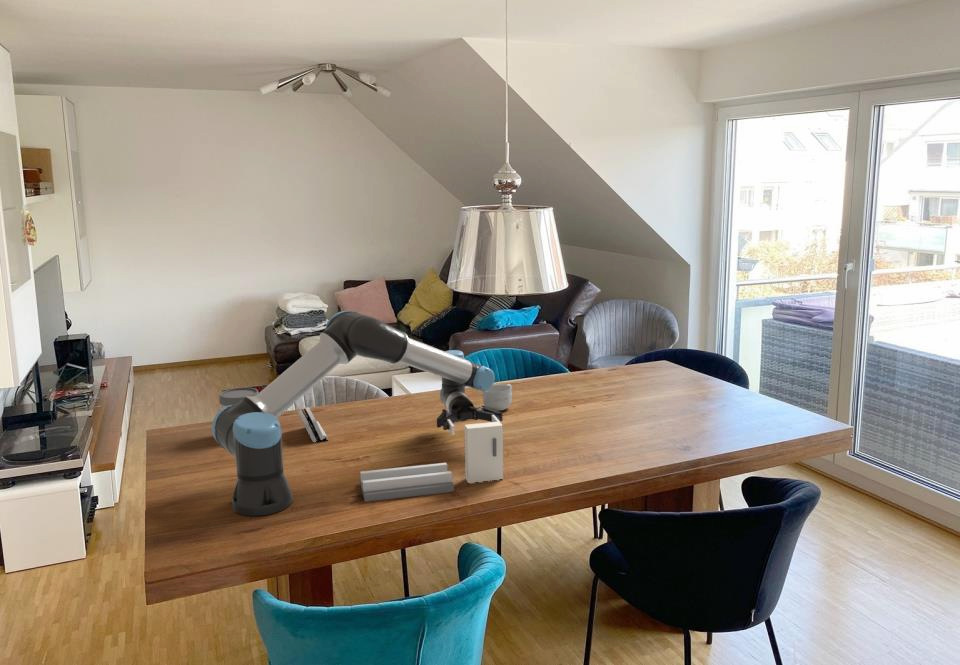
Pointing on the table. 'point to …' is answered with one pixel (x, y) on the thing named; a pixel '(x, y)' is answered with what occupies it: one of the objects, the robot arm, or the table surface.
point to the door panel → (483, 452)
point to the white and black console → (314, 424)
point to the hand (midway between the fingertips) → (476, 428)
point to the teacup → (498, 397)
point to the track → (406, 482)
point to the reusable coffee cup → (236, 395)
